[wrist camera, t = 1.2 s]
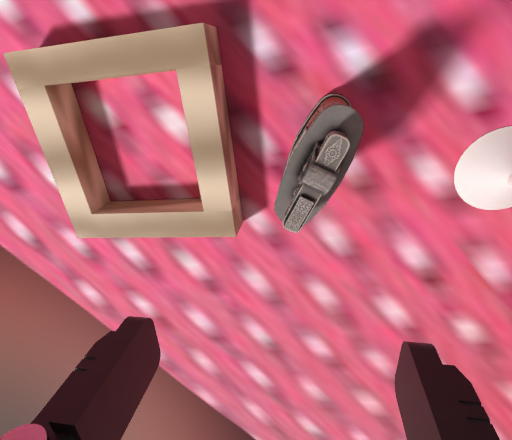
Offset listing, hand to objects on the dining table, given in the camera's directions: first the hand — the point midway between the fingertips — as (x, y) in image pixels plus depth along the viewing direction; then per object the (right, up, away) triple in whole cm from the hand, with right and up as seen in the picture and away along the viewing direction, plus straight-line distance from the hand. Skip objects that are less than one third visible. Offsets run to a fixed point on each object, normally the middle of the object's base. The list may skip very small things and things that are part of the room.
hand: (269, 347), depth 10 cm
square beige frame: (-10, +11, +18) cm, 23 cm away
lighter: (+4, +10, +15) cm, 19 cm away
